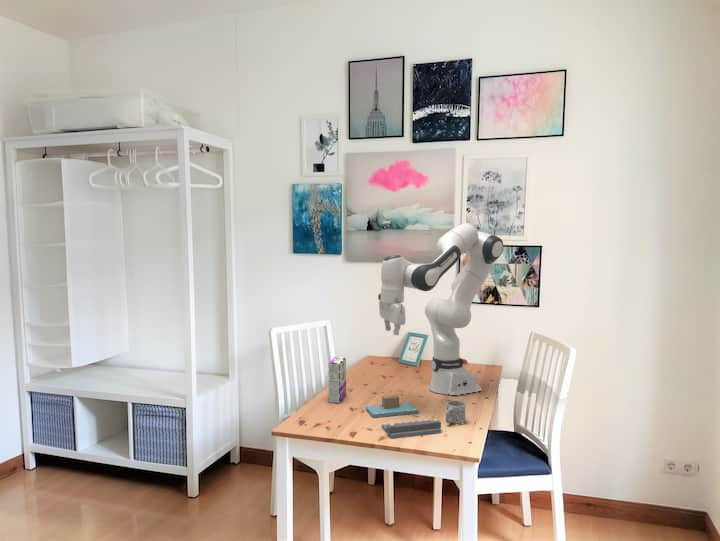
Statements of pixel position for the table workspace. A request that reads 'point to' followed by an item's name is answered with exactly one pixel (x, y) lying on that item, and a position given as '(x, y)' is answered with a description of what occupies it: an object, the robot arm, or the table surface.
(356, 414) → the table surface
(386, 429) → the grey toy road piece
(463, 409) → the mug
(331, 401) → the candy bar box
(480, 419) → the table surface
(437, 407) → the table surface
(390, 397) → the teal flat block
